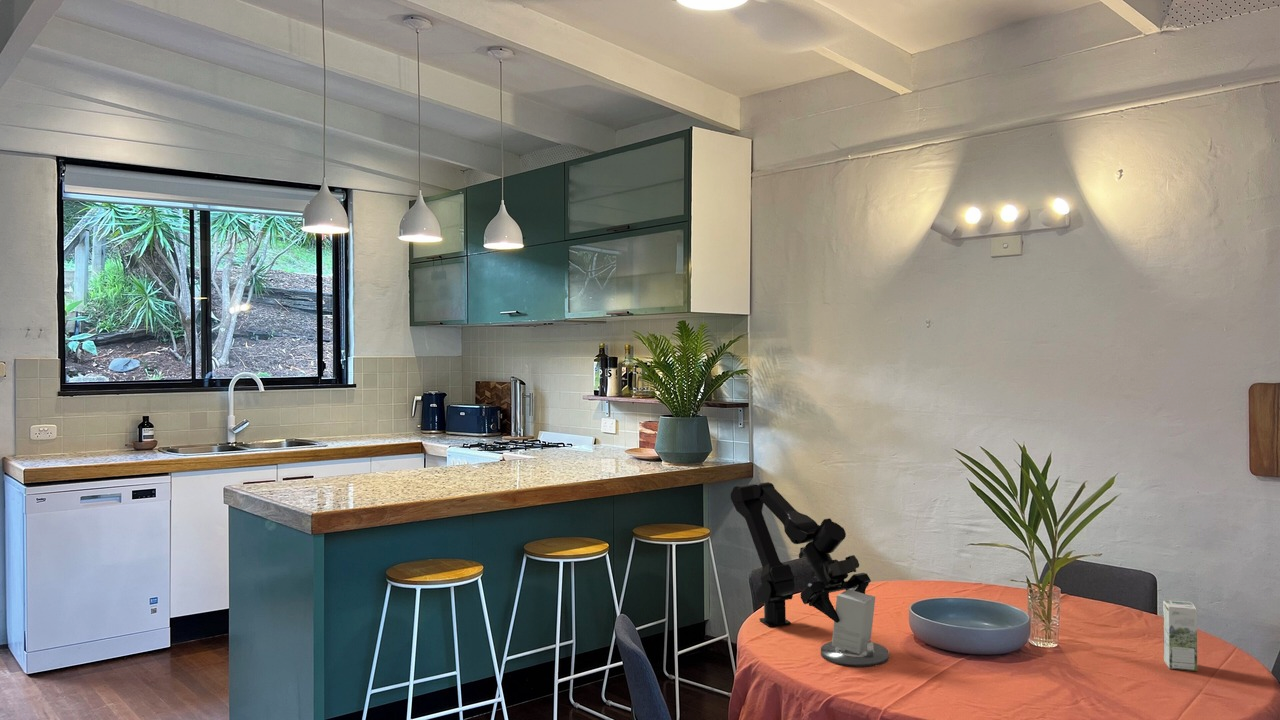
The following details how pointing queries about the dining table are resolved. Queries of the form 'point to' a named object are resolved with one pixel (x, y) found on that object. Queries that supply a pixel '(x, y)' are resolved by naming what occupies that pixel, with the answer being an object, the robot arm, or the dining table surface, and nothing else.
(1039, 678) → the dining table surface
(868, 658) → the base plate
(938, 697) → the dining table surface
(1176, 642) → the syrup box
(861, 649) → the supplement box
